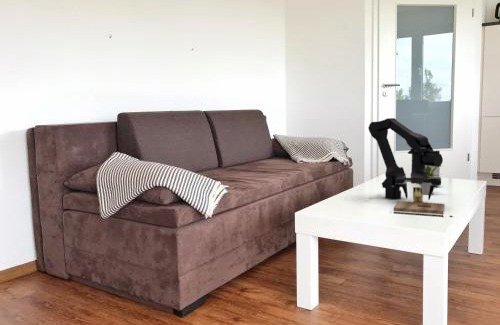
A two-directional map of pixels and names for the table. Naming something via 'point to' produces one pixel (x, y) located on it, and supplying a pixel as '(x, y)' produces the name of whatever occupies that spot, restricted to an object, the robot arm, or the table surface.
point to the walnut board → (419, 208)
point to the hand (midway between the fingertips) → (417, 199)
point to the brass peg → (418, 194)
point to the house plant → (427, 185)
